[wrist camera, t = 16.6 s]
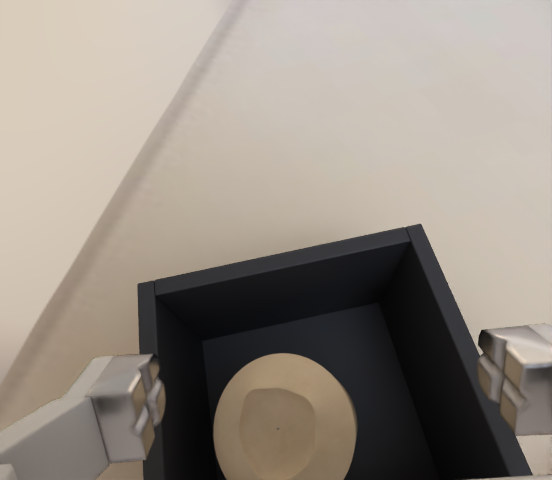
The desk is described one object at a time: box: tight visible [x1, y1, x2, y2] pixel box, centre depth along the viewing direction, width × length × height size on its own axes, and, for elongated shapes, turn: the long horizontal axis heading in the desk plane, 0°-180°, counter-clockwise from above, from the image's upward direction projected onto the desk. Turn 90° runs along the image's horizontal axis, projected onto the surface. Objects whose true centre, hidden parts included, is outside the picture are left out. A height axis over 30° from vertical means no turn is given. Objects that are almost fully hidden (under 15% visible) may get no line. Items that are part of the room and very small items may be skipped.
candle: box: [214, 353, 358, 480], centre depth 18 cm, size 6×6×10 cm
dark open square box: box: [138, 224, 533, 480], centre depth 19 cm, size 14×14×10 cm
